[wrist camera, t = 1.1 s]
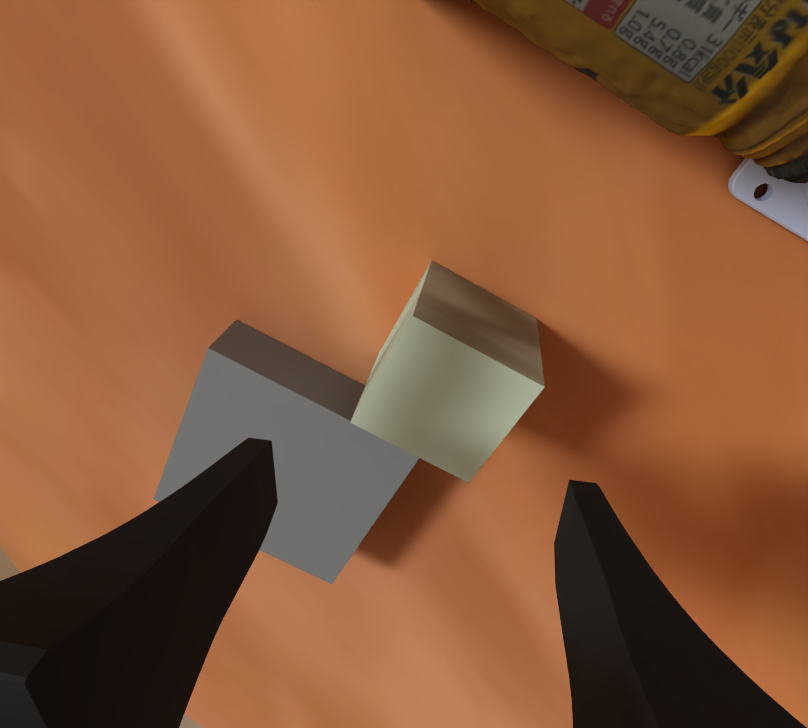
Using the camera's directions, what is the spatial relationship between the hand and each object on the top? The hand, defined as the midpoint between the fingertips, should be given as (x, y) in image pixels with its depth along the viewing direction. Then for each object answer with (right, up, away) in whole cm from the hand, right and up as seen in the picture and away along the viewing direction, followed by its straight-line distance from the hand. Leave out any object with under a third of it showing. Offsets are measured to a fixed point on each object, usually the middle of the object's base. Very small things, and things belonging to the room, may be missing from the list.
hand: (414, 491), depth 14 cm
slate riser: (-5, 0, +13) cm, 14 cm away
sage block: (+2, +4, +8) cm, 10 cm away
